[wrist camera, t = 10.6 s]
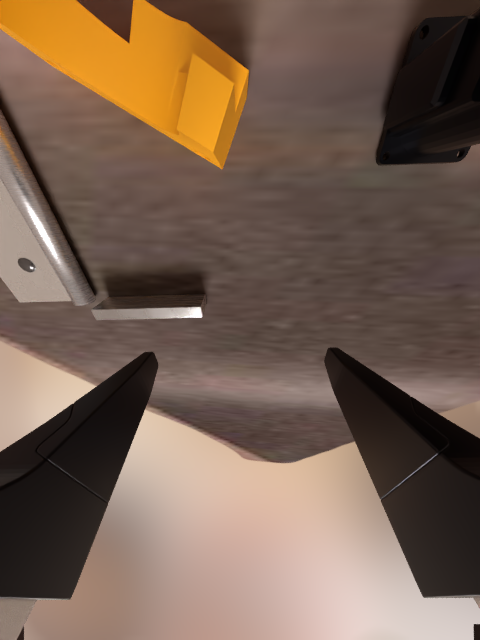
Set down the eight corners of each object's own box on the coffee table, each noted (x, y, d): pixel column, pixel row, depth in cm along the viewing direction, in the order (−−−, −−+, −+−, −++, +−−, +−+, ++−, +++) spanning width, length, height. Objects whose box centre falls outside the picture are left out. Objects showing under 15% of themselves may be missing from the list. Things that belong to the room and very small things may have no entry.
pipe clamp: (246, 97, 13) (252, 22, 7) (222, 169, 15) (213, 152, 10) (49, -47, 10) (-176, -340, 5) (54, 67, 12) (-96, -41, 7)
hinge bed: (130, -231, 8) (77, -438, 5) (206, 303, 21) (202, 317, 19) (-339, -199, 8) (-603, -382, 5) (33, 308, 22) (6, 322, 19)
